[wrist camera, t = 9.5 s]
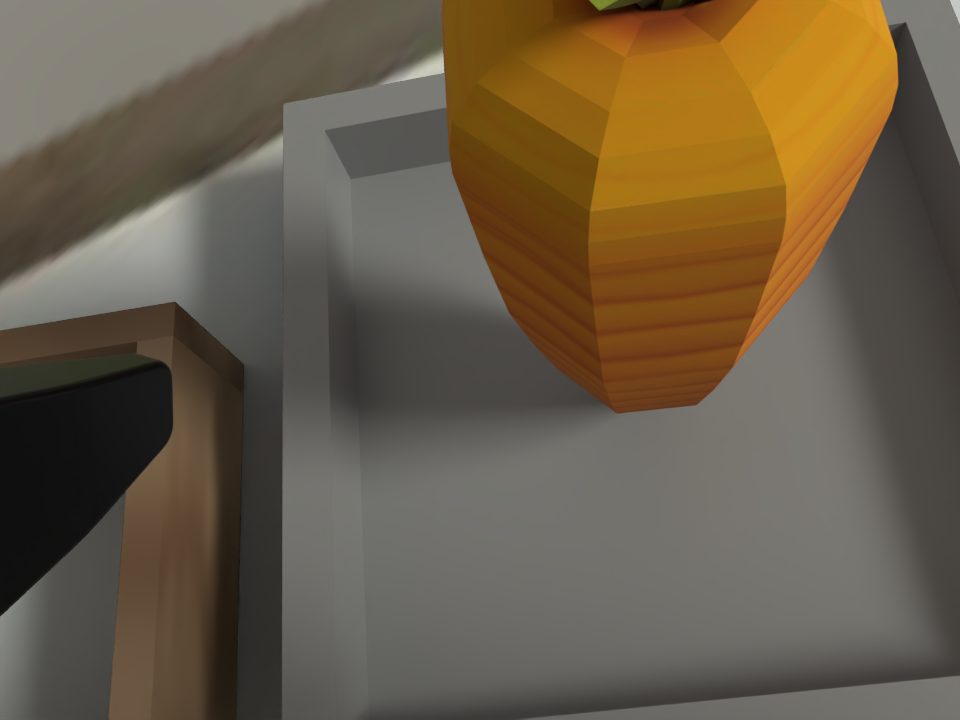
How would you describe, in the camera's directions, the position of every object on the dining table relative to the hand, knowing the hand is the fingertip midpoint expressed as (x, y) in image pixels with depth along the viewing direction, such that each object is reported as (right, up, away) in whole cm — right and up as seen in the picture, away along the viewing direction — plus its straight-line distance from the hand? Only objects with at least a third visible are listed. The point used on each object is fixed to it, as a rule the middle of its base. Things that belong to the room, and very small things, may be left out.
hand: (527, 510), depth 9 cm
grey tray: (+3, +1, +11) cm, 11 cm away
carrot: (+3, +1, +10) cm, 10 cm away
